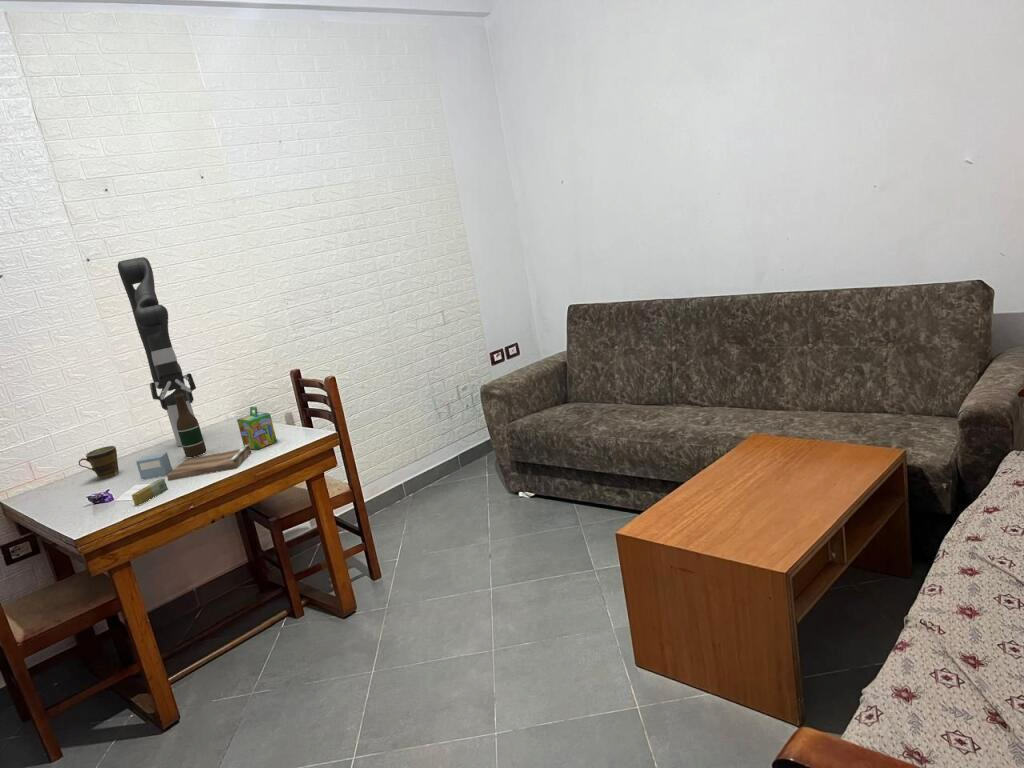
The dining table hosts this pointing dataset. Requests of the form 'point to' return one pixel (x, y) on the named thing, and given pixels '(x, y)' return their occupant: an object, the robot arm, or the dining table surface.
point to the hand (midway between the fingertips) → (178, 406)
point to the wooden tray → (210, 463)
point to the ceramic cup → (103, 461)
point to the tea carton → (154, 465)
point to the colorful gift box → (257, 429)
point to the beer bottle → (188, 429)
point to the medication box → (149, 491)
